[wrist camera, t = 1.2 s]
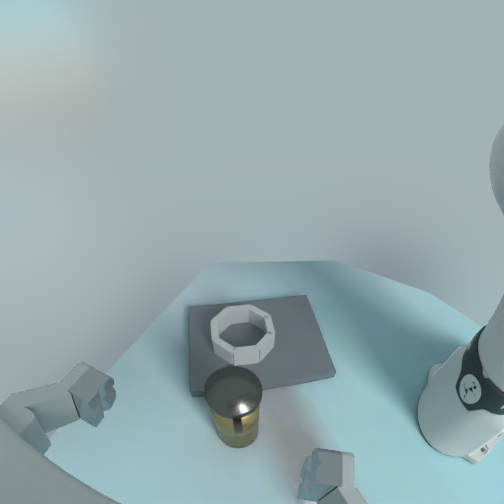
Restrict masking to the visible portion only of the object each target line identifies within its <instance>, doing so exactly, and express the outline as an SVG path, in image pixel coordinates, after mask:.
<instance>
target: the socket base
mask: <svg viewBox="0 0 504 504" xmlns="http://www.w3.org/2000/svg"><path fill="white" fill-rule="evenodd" d="M230 364H234V366H239V367H244V368H246V369H248V370H250V371H252V372H253V373H254V374H255V375H256V376H257V377H258V378H259V380H260V382H261V385H262V390H263V389H270V388H277V387H283V386H289V385H295V384H301V383H306V382H312V381H317V380H322V379H327V378H331V377H334V375H335V373H336V371H335V368H334V365H333V363H332V360H331V357H330V355H329V352H328V349H327V347H326V344H325V342H324V339H323V336H322V334H321V331H320V329H319V326H318V324H317V321H316V319H315V316H314V314H313V311H312V309H311V306H310V304H309V301H308V299H307V296H306V295H302V296H293V297H285V298H276V299H268V300H258V301H249V302H239V303H228V304H217V305H206V306H194V307H189V369H190V392H191V395H192V396H205V395H204V386H205V383H206V381H207V379H208V377H209V376H210V375H211V374H212V373H213V372H215V371H216V370H218V369H220V368H223V367H226V365H230Z"/></svg>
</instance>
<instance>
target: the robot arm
mask: <svg viewBox="0 0 504 504" xmlns="http://www.w3.org/2000/svg"><path fill="white" fill-rule="evenodd" d="M490 179H491V184H492V189H493V192H494V195H495V198H496V201H497V203H498V204H499V206H500V208H501V210H502V213H503V215H504V125H503V126H502V127H501V129H500V130H499V132H498V134H497V135H496V138H495V140H494V142H493V146H492V150H491V155H490ZM113 385H114V379H113V378H111V377H109V376H107V375H105V374H104V373H102V372H100V371H98V370H96V369H94V368H93V367H91V366H89V365H88V364H86V363H84V362H81V363H79V364H78V365H77V366H76V367H75V368H74V369H73V370H72V371H71V372H70V373H69V374H68V375H67V376H66V377H65V379H63V380H62V381H61V382H60V383H59V385H58V384H56V383H54V384H51V385H47V386H43V387H39V388H35V389H31V390H26V391H22V392H18V393H13V394H11V395H10V396H9V397H8V398H7V399H6V400H5V401H4V402H3V403H2V404H1V405H0V504H120V503H119V502H117V501H115V500H113V499H111V498H109V497H107V496H105V495H104V494H102V493H100V492H98V491H96V490H95V489H93V488H91V487H90V486H88V485H86V484H85V483H83V482H81V481H80V480H78V479H77V478H75V477H74V476H72V475H71V474H69V473H68V472H66V471H65V470H63V469H62V468H60V467H59V466H57V465H56V464H55V463H53V462H52V461H51V460H49V459H48V458H47V457H45V456H44V454H45V452H46V451H47V449H48V448H49V447H50V446H51V443H50V440H49V439H48V437H47V436H46V434H45V433H47V432H49V431H52V430H54V429H57V428H59V427H62V426H64V425H67V424H69V423H72V422H74V421H76V420H79V419H80V418H81V419H82V420H84V421H86V422H87V423H89V424H91V425H93V426H95V427H97V426H98V424H99V423H100V422H101V420H102V419H103V418H104V411H107V410H109V409H110V408H111V407H112V405H113V403H114V401H115V397H116V391H115V389H114V388H113V387H112V386H113ZM418 421H419V425H420V428H421V431H422V433H423V435H424V437H425V438H426V440H427V441H428V442H429V444H430V445H431V446H432V447H434V448H435V449H436V450H438V451H439V452H441V453H443V454H446V455H450V456H459V457H463V458H465V459H466V460H468V461H469V462H471V463H478V462H479V461H481V460H482V459H483V458H484V457H485V456H486V455H487V454H488V453H489V452H490V450H491V449H492V448H493V447H494V446H495V445H496V444H497V442H498V441H499V440H500V439H501V438H502V437H503V435H504V295H503V297H502V299H501V301H500V303H499V305H498V307H497V309H496V311H495V313H494V314H493V316H492V318H491V319H490V321H489V323H488V324H487V325H486V326H484V327H483V328H482V329H481V330H480V331H479V332H478V333H477V334H476V335H475V336H474V338H473V339H472V340H471V342H470V344H469V345H466V346H463V347H462V346H459V347H458V348H457V349H456V350H455V351H454V352H453V353H452V355H451V356H450V357H449V358H448V359H447V360H446V361H445V362H444V363H439V364H435V365H433V366H432V367H431V368H430V370H429V374H428V383H427V385H426V387H425V389H424V390H423V392H422V394H421V397H420V399H419V403H418ZM481 449H482V451H481ZM300 476H301V478H302V480H303V482H302V483H301V484H300V485H299V489H298V495H297V499H302V500H308V501H315V502H317V504H368V503H367V502H366V500H365V499H364V498H363V496H362V495H361V493H360V492H359V490H358V489H357V488H354V455H353V453H349V452H341V451H335V450H328V449H321V448H315V449H314V450H313V451H312V455H311V456H308V457H307V458H306V460H305V461H304V464H303V466H302V469H301V475H300Z"/></svg>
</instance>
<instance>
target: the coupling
mask: <svg viewBox="0 0 504 504" xmlns="http://www.w3.org/2000/svg"><path fill="white" fill-rule="evenodd" d="M204 395H205V399H206V402H207V404H208V406H209V408H210V409H211V412H212V415H213V418H214V421H215V425H216V428H217V431H218V434H219V437H220V439H221V440H222V442H223V443H225V444H226V445H228V446H230V447H233V448H244V447H247V446H249V445H250V444H252V443H253V442H254V441H255V439H256V438H257V435H258V422H259V404H260V402H261V399H262V385H261V382H260V380H259V378H258V377H257V376H256V375H255V374H254V373H253V372H252V371H250V370H248V369H246V368H244V367H239V366H234V364H230V365H226V367H223V368H220V369H218V370H216V371H215V372H213V373H212V374H211V375H210V376H209V377H208V379H207V381H206V383H205V386H204Z"/></svg>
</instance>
